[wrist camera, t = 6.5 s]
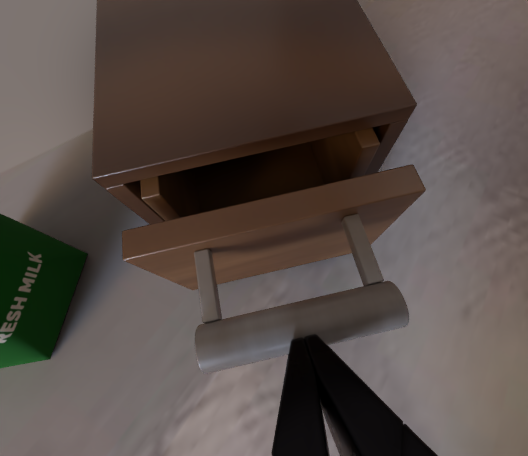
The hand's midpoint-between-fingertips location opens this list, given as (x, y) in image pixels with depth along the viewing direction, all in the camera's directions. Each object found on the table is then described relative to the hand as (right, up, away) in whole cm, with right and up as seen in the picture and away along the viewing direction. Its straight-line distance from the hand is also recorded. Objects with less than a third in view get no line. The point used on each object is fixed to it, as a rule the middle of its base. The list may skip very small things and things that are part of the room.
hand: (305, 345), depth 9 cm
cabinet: (-2, +10, +13) cm, 17 cm away
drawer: (-1, +5, +10) cm, 11 cm away
